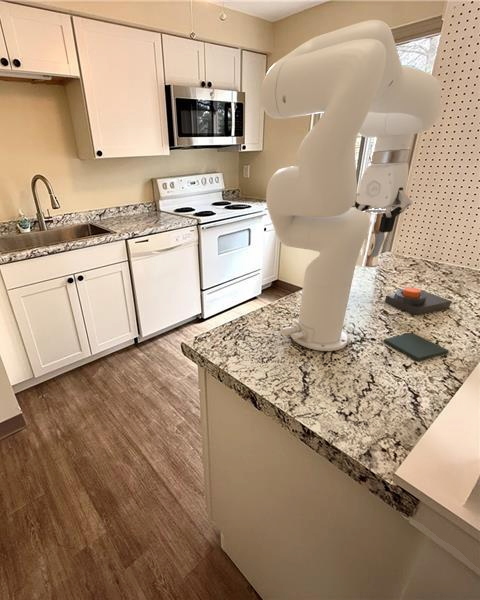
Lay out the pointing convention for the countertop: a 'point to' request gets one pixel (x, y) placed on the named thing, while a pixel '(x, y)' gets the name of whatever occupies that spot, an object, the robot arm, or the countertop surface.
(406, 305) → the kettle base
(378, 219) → the beer glass
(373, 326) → the countertop surface
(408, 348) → the mat
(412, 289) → the switch
